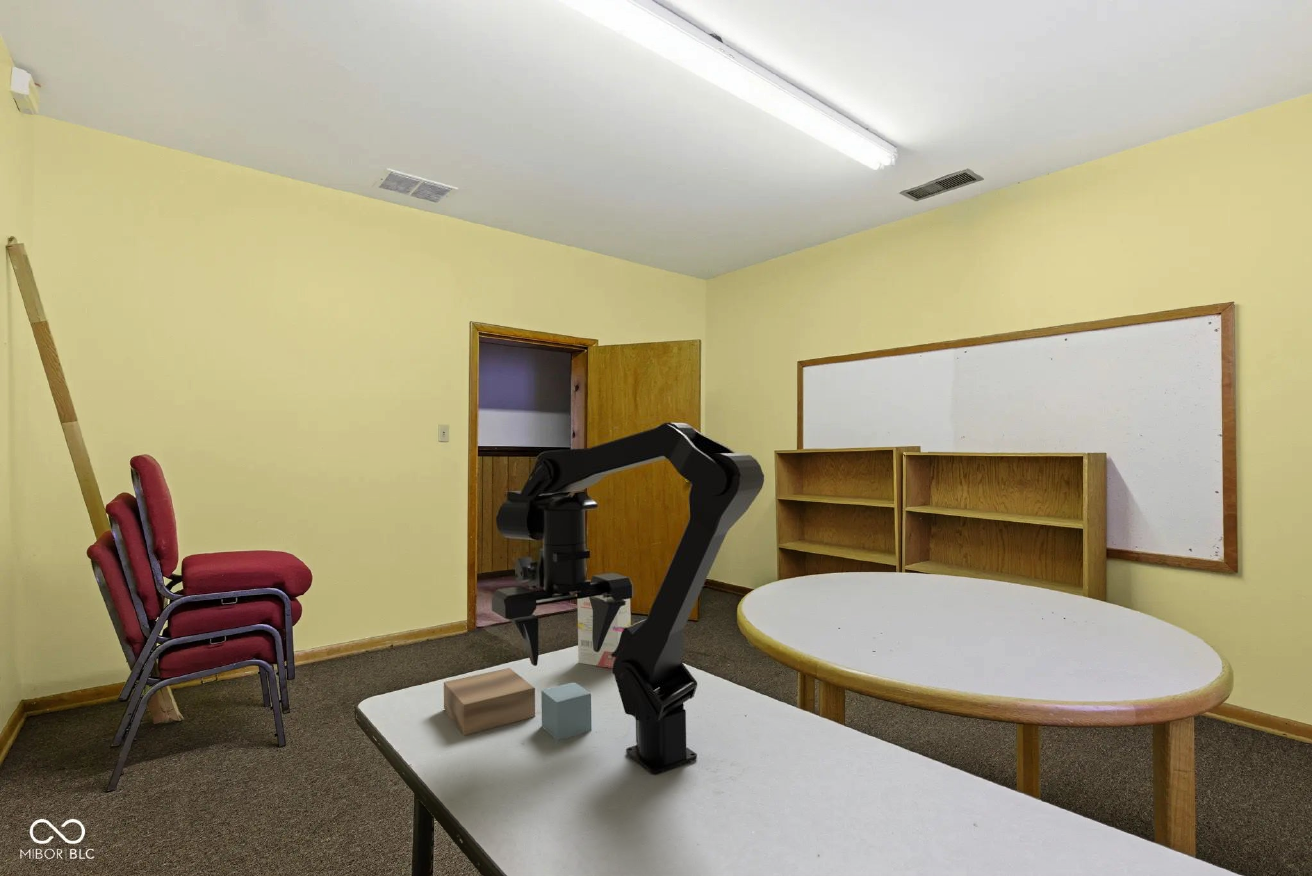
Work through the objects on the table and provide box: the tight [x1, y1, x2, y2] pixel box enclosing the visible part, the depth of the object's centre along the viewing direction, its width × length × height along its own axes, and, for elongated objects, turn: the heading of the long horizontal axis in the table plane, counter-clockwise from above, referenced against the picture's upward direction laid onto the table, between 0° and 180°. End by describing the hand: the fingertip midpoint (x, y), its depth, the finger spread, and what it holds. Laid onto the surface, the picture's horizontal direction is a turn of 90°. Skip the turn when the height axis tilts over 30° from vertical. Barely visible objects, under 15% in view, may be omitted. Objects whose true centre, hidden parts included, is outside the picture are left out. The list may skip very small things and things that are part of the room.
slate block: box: [540, 681, 593, 741], centre depth 84 cm, size 5×5×5 cm
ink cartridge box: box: [576, 579, 632, 669], centre depth 111 cm, size 9×5×15 cm, turn 62°
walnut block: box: [443, 667, 536, 736], centre depth 90 cm, size 10×10×4 cm
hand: (566, 658), depth 84 cm, fingers open, 9 cm apart
